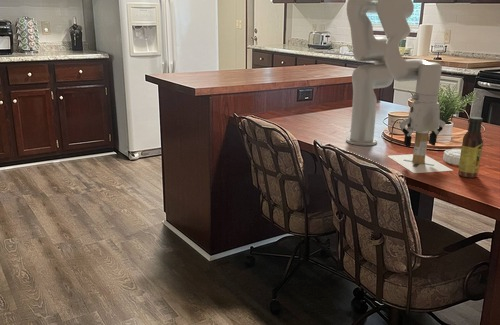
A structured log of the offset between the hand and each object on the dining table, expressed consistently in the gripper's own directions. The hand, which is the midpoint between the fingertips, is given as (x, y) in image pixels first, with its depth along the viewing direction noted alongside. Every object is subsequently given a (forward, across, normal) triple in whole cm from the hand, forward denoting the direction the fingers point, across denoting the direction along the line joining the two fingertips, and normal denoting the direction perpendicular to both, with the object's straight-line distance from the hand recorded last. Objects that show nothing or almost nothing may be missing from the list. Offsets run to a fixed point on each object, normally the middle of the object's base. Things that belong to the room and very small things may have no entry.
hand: (419, 145), depth 176 cm
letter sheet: (+7, 0, -1) cm, 7 cm away
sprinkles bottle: (+7, 0, 0) cm, 7 cm away
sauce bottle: (+6, +10, -16) cm, 20 cm away
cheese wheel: (+7, +17, -1) cm, 18 cm away
